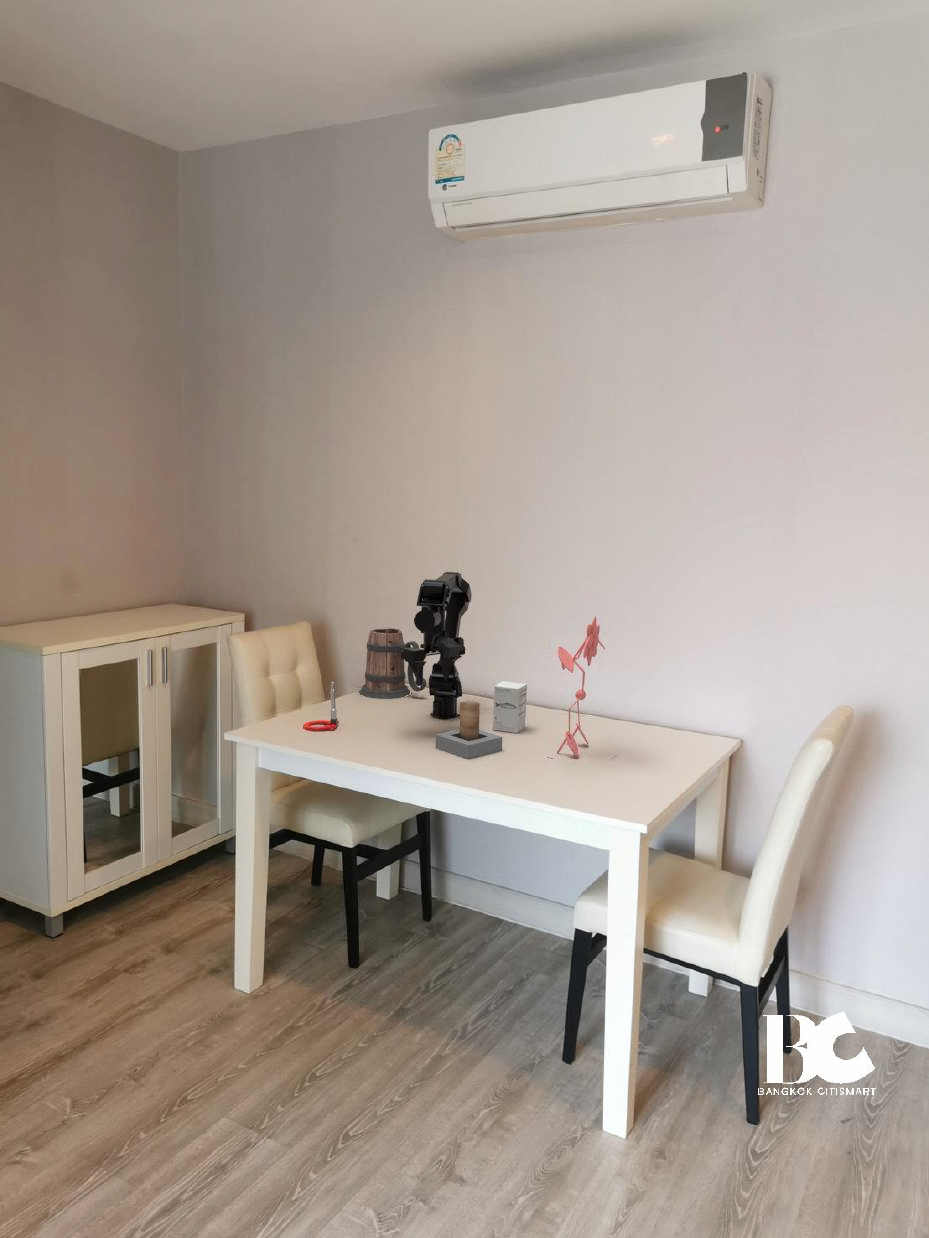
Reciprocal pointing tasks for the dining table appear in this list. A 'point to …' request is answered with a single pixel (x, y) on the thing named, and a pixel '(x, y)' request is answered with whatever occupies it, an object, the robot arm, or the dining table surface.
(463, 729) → the walnut peg
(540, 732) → the dining table surface
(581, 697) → the figurine
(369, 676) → the tankard
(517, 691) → the supplement box
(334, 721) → the tow hook
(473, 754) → the socket block
